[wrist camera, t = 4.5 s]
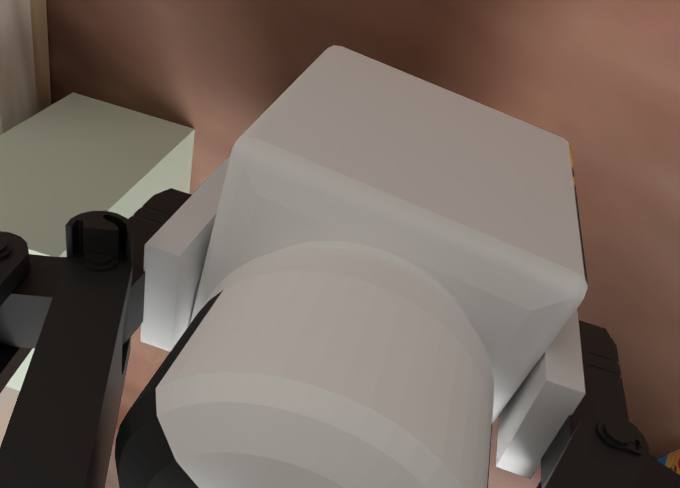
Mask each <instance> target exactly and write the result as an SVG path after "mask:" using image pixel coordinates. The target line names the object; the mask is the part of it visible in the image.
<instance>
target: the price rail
mask: <svg viewBox="0 0 680 488" xmlns="http://www.w3.org/2000/svg"><path fill="white" fill-rule="evenodd" d="M49 106H51V86H50V67H49V48H48V29H47V10H46V0H0V135H2V134H3V133H5V132H7V131H8V130H10V129H12V128H13V127H15V126H17V125H18V124H20V123H22V122H24V121H25V120H27V119H29V118H30V117H32V116H34V115H35V114H37V113H39V112H40V111H42V110H44V109H46V108H47V107H49Z"/></svg>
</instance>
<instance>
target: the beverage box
mask: <svg viewBox="0 0 680 488" xmlns="http://www.w3.org/2000/svg"><path fill="white" fill-rule="evenodd" d="M657 461H659V462H660V463H662V464H663V465H665V466H666V467H668V468H670V469H671V470H673V471H675V472H676V473H678V474H680V449H678V450H676V451H674V452H672V453H670V454H668V455H666V456H664V457H661V458H659V459H657Z"/></svg>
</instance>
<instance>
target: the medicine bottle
mask: <svg viewBox="0 0 680 488" xmlns="http://www.w3.org/2000/svg"><path fill="white" fill-rule="evenodd" d="M587 288H588V283H587V275H586V267H585V259H584V251H583V243H582V235H581V227H580V219H579V211H578V203H577V195H576V187H575V179H574V171H573V163H572V156H571V148H570V145H569V142H568V141H566V140H565V139H564V138H562V137H561V136H558V135H556V134H553V133H551V132H549V131H546V130H544V129H541V128H539V127H536V126H534V125H532V124H529V123H527V122H524V121H522V120H519V119H517V118H515V117H512V116H510V115H507V114H505V113H502V112H500V111H498V110H495V109H493V108H490V107H488V106H485V105H483V104H481V103H478V102H476V101H473V100H471V99H469V98H466V97H464V96H461V95H459V94H456V93H454V92H452V91H449V90H447V89H444V88H442V87H439V86H437V85H435V84H432V83H430V82H427V81H425V80H422V79H420V78H418V77H415V76H413V75H410V74H408V73H405V72H403V71H401V70H398V69H396V68H393V67H391V66H388V65H386V64H384V63H381V62H379V61H376V60H374V59H372V58H369V57H367V56H364V55H362V54H359V53H357V52H355V51H352V50H350V49H347V48H345V47H342V46H337V45H333V46H331V47H329V48H327V49H326V50H325V51H324V52H323V53H322V54H321V55H320V56H319V57H318V58H317V59H316V60H315V61H314V62H313V63H312V64H311V65H310V66H309V67H308V68H307V69H306V70H305V71H304V72H303V73H302V74H301V75H300V76H299V77H298V78H297V79H296V80H295V81H294V82H293V83H292V84H291V85H290V86H289V87H288V88H287V90H286V91H285V92H284V93H283V94H282V95H281V96H280V97H279V98H278V99H277V100H276V101H275V102H274V103H273V104H272V105H271V106H270V107H269V108H268V109H267V110H266V111H265V112H264V113H263V114H262V115H261V116H260V117H259V118H258V119H257V120H256V121H255V122H254V123H253V124H252V125H251V126H250V127H249V128H248V129H247V130H246V131H245V132H244V133H243V134H242V135H241V136H240V137H239V138H238V139H237V141H236V142H235V144H234V146H233V148H232V152H231V156H230V160H229V164H228V168H227V172H226V176H225V180H224V185H223V189H222V193H221V197H220V201H219V205H218V209H217V213H216V218H215V222H214V226H213V230H212V234H211V238H210V242H209V246H208V251H207V255H206V259H205V263H204V267H203V271H202V275H201V279H200V284H199V288H198V292H197V296H196V300H195V304H194V308H193V312H192V317H191V321H190V325H189V326H188V328H187V329H186V331H185V332H184V333H183V335H182V336H181V338H180V339H179V340H178V342H177V343H176V345H175V346H174V347H173V349H172V350H171V352H170V353H169V355H168V356H167V357H166V359H165V360H164V362H163V363H162V364H161V366H160V367H159V369H158V370H157V372H156V373H155V374H154V376H153V377H152V379H151V380H150V381H149V383H148V384H147V386H146V387H145V389H144V390H143V391H142V393H141V394H140V396H139V397H138V398H137V400H136V401H135V403H134V404H133V405H132V407H131V408H130V410H129V411H128V413H127V415H126V416H125V418H124V420H123V421H122V423H121V425H120V428H119V431H118V435H117V438H116V446H115V460H116V467H117V474H118V480H119V486H120V488H488V477H489V462H490V447H491V433H492V423H493V422H494V421H495V419H496V418H497V417H498V415H499V414H500V412H501V411H502V410H503V408H504V407H505V406H506V404H507V403H508V402H509V400H510V399H511V397H512V396H513V395H514V393H515V392H516V391H517V389H518V388H519V387H520V385H521V384H522V383H523V381H524V380H525V378H526V377H527V376H528V374H529V373H530V372H531V370H532V369H533V368H534V366H535V365H536V363H537V362H538V361H539V359H540V358H541V357H542V355H543V354H544V353H545V351H546V350H547V348H548V347H549V346H550V344H551V343H552V342H553V340H554V339H555V338H556V336H557V335H558V333H559V332H560V331H561V329H562V328H563V327H564V325H565V324H566V323H567V321H568V320H569V319H570V317H571V316H572V314H573V313H574V312H575V310H576V309H577V308H578V306H579V305H580V304H581V302H582V301H583V299H584V297H585V294H586V291H587Z"/></svg>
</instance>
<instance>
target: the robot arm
mask: <svg viewBox="0 0 680 488" xmlns="http://www.w3.org/2000/svg"><path fill="white" fill-rule="evenodd" d="M230 156H231V155H230ZM230 156H229V157H228V158H227V159H226V160H225V161H224V162H223V163H222V164H221V165H220V166H219V167H218V168H217V170H216V171H215V172H214V173H213V174H212V175H211V176H210V177H209V178H208V179H207V180H206V181H205V182H204V183H203V184H202V185H201V186H200V187H199V188H198V189H197V190H196V191H195V193H194V194H193V195H191V194H188V193H185V192H182V191H179V190H176V189H173V188H170V189H168V190H165V191H163V192H160V193H157V194H155V195H153V196H152V197H151V198H150V199H149V200H148V201H147V202H146V203H145V204H144V205H143V207H142V208H141V207H140V208H139V209H138V210H137V211H136V212H135V213H134V215H133V216H131V217H130V218H129V219H127V218H126V217H124V216H122V215H120V214H118V213H114V212H109V211H89V212H85V213H80V214H78V215H76V216H75V217H73V218H71V219H70V220H69V221H68V223H67V224H66V225H65V232H66V253H67V257H53V256H43V255H33V254H29V250H28V245H27V242H26V241H25V240H24V239H23V238H22V237H21V236H18V235H16V234H13V233H10V232H2V231H0V393H1V391H2V390H3V389H4V387H5V386H6V385H7V383H8V382H9V380H10V379H11V378H12V376H13V375H14V374H15V372H16V371H17V369H18V368H19V367H20V365H21V364H22V363H23V361H24V360H25V358H26V357H27V356H28V354H29V353H30V352H31V350H32V349H33V348H35V350H34V353H33V355H32V358H31V361H30V364H29V367H28V370H27V373H26V375H25V378H24V381H23V384H22V387H21V390H20V393H19V396H18V398H17V401H16V404H15V407H14V410H13V413H12V416H11V418H10V421H9V424H8V427H7V430H6V433H5V436H4V438H3V441H2V444H1V447H0V488H105V482H106V477H107V472H108V466H109V461H110V456H111V450H112V445H113V440H114V434H115V429H116V423H117V418H118V413H119V407H120V402H121V397H122V391H123V386H124V381H125V375H126V370H127V364H128V359H129V354H130V340H131V336H132V335H133V333H134V332H135V331H136V330H137V328H138V327H139V326H140V325H141V342H144V343H147V344H150V345H153V346H155V347H158V348H161V349H164V350H167V351H170V352H171V350H172V349H173V347H174V346H175V345H176V343H177V342H178V340H179V339H180V338H181V336H182V335H183V333H184V332H185V331H186V329H187V328H188V326H189V325H190V321H191V317H192V312H193V308H194V304H195V300H196V296H197V292H198V288H199V284H200V279H201V275H202V271H203V267H204V263H205V259H206V255H207V251H208V246H209V242H210V238H211V234H212V230H213V226H214V222H215V218H216V213H217V209H218V205H219V201H220V197H221V193H222V189H223V185H224V180H225V176H226V172H227V168H228V164H229V160H230ZM618 363H619V359H618V353H617V347H616V345H615V343H614V342H613V340H612V338H611V337H610V335H609V334H608V332H607V331H606V329H604V328H601V327H598V326H595V325H592V324H589V323H586V322H583V321H580V320H578V309H576V310H575V312H574V313H573V314H572V316H571V317H570V319H569V320H568V321H567V323H566V324H565V325H564V327H563V328H562V329H561V331H560V332H559V333H558V335H557V336H556V338H555V339H554V340H553V342H552V343H551V344H550V346H549V347H548V348H547V350H546V351H545V353H544V354H543V355H542V357H541V358H540V359H539V361H538V362H537V363H536V365H535V366H534V368H533V369H532V370H531V372H530V373H529V374H528V376H527V377H526V378H525V380H524V381H523V383H522V384H521V385H520V387H519V388H518V389H517V391H516V392H515V393H514V395H513V396H512V397H511V399H510V400H509V402H508V403H507V404H506V406H505V407H504V408H503V410H502V411H501V412H500V414H499V424H498V441H497V458H496V467H499V468H501V469H504V470H507V471H510V472H513V473H515V474H518V475H521V476H524V477H527V478H530V479H531V477H532V476H533V474H534V473H535V471H536V470H537V468H538V467H539V465H540V463H541V481H540V483H539V484H538V486H537V487H536V488H680V474H678V473H676V472H675V471H673V470H671V469H670V468H668V467H666V466H665V465H663V464H662V463H660V462H659V461H657V460H656V459H654V458H653V457H652V456H651V455H650V454H648V445H647V443H646V441H645V438H644V436H643V435H642V434H641V433H640V431H639V430H638V429H637V428H636V427H635V426H634V425H633V424H632V423H630V422H629V420H628V414H627V408H626V402H625V396H624V390H623V384H622V378H620V376H621V372H620V365H618Z"/></svg>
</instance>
